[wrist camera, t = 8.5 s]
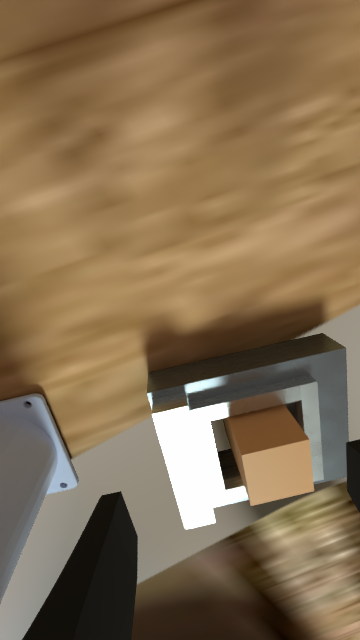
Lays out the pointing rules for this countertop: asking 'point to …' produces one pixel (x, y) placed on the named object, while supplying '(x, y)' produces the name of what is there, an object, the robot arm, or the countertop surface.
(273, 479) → the tan cardboard-like brick
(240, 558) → the countertop surface
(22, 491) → the robot arm
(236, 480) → the nested square metal frame
